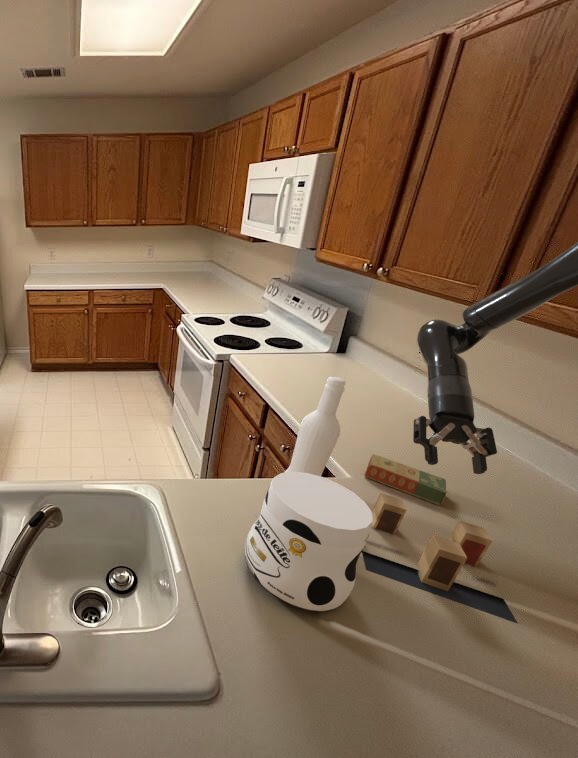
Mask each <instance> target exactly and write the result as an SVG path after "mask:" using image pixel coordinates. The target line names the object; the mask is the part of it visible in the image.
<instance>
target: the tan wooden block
mask: <svg viewBox="0 0 578 758" xmlns="http://www.w3.org/2000/svg"><path fill="white" fill-rule="evenodd" d="M407 510H408V509H407V507H406V505H405V503H404V500H403V499H402V498H398V497H395V496H392V495H388V494H385V493H382V492H380V493H379V494H378V497H377V498H376V501H375V504H374V506H373V509H372V510H371V512H372V518H373V523H372V528H373V529H375V530H378V531H381V532H385V533H388V534H389V535H390V534H391V535H396V534H397V531H398V529H399V527H400V525H401V523H402V521H403V519H404V516H405V514H406V512H407Z"/></svg>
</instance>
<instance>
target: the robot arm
mask: <svg viewBox="0 0 578 758" xmlns="http://www.w3.org/2000/svg"><path fill="white" fill-rule="evenodd" d="M576 287H578V241H577V242H575V243H574V244H573V245H571V246H570V247H569V248H567V249H566V250H565V251H563V252H562V253H560V254H559V255H558V256H556V257H554V258H553V259H551V260H549V261H548V262H547V263H545V264H543V265H541V266H540V267H538V268H536V269H535V270H534V271H531V272H529V273H528V274H526V275H524V276H522V277H521V278H519V279H516V280H515V281H513V282H511V283H509V284H507V285H505V286H504V287H501V288H499V289H498V290H496V291H494V292H492V293H490V294H488V295H487V296H485V297H483V298H482V299H480V300H478V301H476V302H474V303H473V304H470V305H469V306H467V307H466V308H465V309H464V310H463V311H462V314H461V316H462V317H461V318H462V319H463V321H464V323H463V324H461V325H456V324H453V323H451V322H448V321H446V320H442V319H432V320H429V321H426V322H425V323H424V324H422V326H421V327H420V328H419V330H418V332H417V336H416V343H417V346H418V349H419V352H420V354H421V357H422V359H423V361H424V363H425V365H426V370H427V371H426V374H427V395H426V396H427V397H426V398H427V406H428V407H427V408H428V417H429V418H427V417H426V416H425V415H420V416H419V417H417V418H414V419H413V430H412V431H413V433H412V434H413V435H412V437H413V439H412V441H413V443H414V444H417V445H420V446H422V447H423V449H424V460H425V462H427V464H428V465H431V466H434V465H437V464H438V463H439V457H438V456H439V455H438V446H436V445H437V444H438V443H439V442H440V441H441V442H444V443H452V444H455V445H460V446H461V447H462V448H463V449H464V450H467V451H468V452H469V453H470V454H471V456H472V457H471V463H472V472H473V474H476V475H482V474H485V473H486V471H488V464H487V457H490V456H494V455H497V454H498V450H497V449H498V448H497V444H496V440H495V435H494V430H493V429H492V427H485V428H481V427H476V425H475V424H474V423H475V422H474V420H475V410H474V402H473V392H472V387H471V383H470V380H469V370H468V365H467V362H466V360H465V359H464V358H463V357H461V356H460V355H461V354H463V353H466V352H467V351H469V350H470V349H472V348H474V347H475V346H476V345H477V344H478V343H479V342H480V341H482V340H483V339H484V338H486V337H487V336H488V335H489V334H491V332H493V331H495V330H497V329H499V328H501V327H503V326H505V325H507V324H509V323H512V322H513V321H515V320H517V319H519V318H521V317H523V316H525V315H526V314H529V313H531V312H532V311H534V310H536V309H537V308H539V307H540V306H543V305H544V304H545V303H547V302H549V301H550V300H552V299H555V298H556V297H559V295H561V294H563V293H565V292H567V291H569V290H571V289H573V288H576ZM427 427H429V428H430V429H431V430H432V434H431V435H430V436H429V437H427ZM468 441H470V442H468Z"/></svg>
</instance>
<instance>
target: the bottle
mask: <svg viewBox="0 0 578 758" xmlns="http://www.w3.org/2000/svg"><path fill="white" fill-rule="evenodd" d="M345 386H346V380H345V379H343V378H342V377H338V376H328V378H327V379H326V383H325V384H324V386H323V387H324V389H323V392H322V394H321V396H320V400H319V402H318V405H317V408H316V409H315V410H314V411H311V412H310V413H308V414H306V415H305V416H304V417H303V419H302V420H301V423H300V425H299V429H298V433H297V437H296V440H295V445H294V449H293V453H292V456H291V460H290V464H289V465H288V468H287V469H286V470H285V471H284V472H283V473H285V472H303V473H309V474H313V475H317V476H320V477H322V475H323V473H324V470H325V469H326V466H327V464H328V462H329V459H330V458H331V455H332V453H333V451H334V449H335V446H336V444H337V443H338V441H339V437H340V435H341V425H340V422H339V420H338V418H337V416H336V414H337V412H338V408H339V405H340V403H341V398H342V396H343V393H345Z"/></svg>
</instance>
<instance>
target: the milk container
mask: <svg viewBox="0 0 578 758" xmlns="http://www.w3.org/2000/svg"><path fill="white" fill-rule="evenodd" d="M284 472H285V471H284ZM284 472H281V473H280V472H279V474H277V475H275V476H274V477H273V478H272V479H271V482H270V484H269V486H268V489H267V492H266V494H265V497H264V499H263V502H262V506H261V510H260V514H259V516H258V517H257V519H256V520H255V522H254V523H253V525H252V526H251V528H250V529H249V531H248V532H247V536H246V539H245V545H244V557H245V562H246V565H247V568H248V569H249V571H250V573H251V574H252V576H253V578H254V579H255V580H256V581H257V582H258V584H260V585H261V587H263V588H264V589H265V590H266V591H267V592H268V593H270V594H271V595H273V596H274V597H275V598H277V599H279V600H281V601H282V602H284V603H286V604H288V605H291V606H293V607H296V608H299V609H302V610H304V611H310V612H311V611H312V612H327V611H329V610H330V611H331V610H333V609H336V608H339V607H340V606H341V605H342V604H343V603H344V602H346V600H347V599H348V598H349V596H350V595H351V593H352V591H353V589H354V586H355V583H356V578H357V577H356V576H357V563H358V560H359V558H360V556H361V554H362V551H364V548H365V546H366V544H367V540H368V538H369V537H370V535H371V531H372V528H373V526H372V523H373V518H372V510H371V508H370V507H369V505H368V504H367V502H366V501H364V500H363V499H362V498H361V497H360V496H359V495H358V494H356V493H355V492H353V491H352V490H350V489H348V488H347V487H345V486H343V485H342V484H340V483H338V482H335V481H333V480H332V479H331V480H330V479H328V478H327V477H324V476H321V477H320V476H317V475H313V474H309V473H303V472H285V473H284Z"/></svg>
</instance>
